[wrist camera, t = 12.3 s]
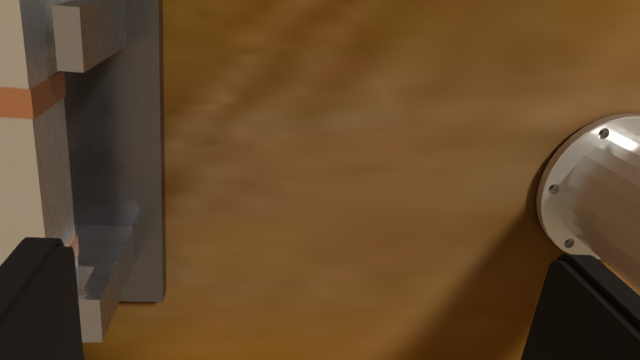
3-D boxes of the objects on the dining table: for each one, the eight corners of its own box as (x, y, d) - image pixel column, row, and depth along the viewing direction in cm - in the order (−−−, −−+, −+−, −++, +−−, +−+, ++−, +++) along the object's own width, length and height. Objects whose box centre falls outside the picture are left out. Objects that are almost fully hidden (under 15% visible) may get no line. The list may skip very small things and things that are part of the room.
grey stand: (161, -62, 33) (121, -72, 23) (166, 290, 42) (139, 387, 33) (-67, -87, 31) (-214, -110, 21) (-8, 287, 40) (-90, 389, 31)
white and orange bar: (86, 335, 35) (62, 387, 31) (12, 335, 34) (-22, 387, 30) (53, -56, 26) (14, -60, 22) (-47, -67, 25) (-108, -73, 21)
